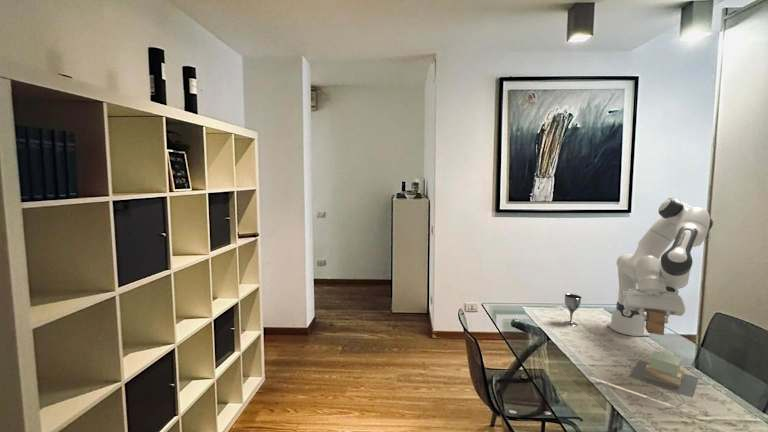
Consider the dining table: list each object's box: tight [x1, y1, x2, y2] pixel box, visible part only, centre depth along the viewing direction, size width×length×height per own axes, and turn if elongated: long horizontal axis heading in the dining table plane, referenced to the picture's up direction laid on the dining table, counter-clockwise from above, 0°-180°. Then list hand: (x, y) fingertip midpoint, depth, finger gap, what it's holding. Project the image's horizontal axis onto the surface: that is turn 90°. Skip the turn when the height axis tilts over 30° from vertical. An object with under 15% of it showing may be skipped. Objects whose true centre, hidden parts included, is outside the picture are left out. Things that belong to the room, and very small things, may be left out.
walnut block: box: [645, 309, 666, 336], centre depth 154 cm, size 5×5×8 cm
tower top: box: [649, 350, 683, 376], centre depth 154 cm, size 9×9×4 cm
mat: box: [628, 359, 700, 398], centre depth 155 cm, size 20×20×1 cm
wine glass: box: [563, 293, 582, 327], centre depth 210 cm, size 8×8×15 cm
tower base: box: [644, 360, 685, 388], centre depth 155 cm, size 11×11×4 cm
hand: (655, 321), depth 154 cm, fingers closed on walnut block, 5 cm apart
